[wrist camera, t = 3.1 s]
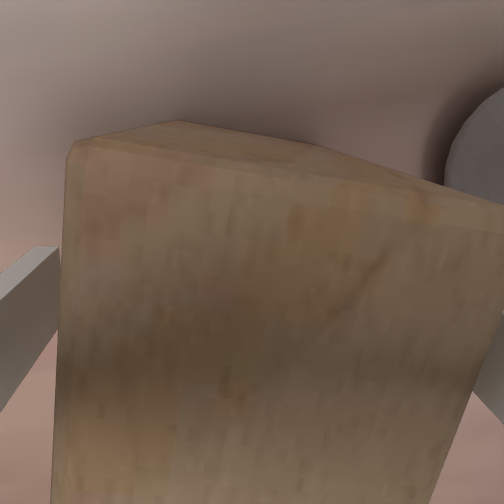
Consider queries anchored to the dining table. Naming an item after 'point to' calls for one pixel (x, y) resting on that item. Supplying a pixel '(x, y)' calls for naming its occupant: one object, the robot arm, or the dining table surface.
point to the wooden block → (263, 322)
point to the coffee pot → (479, 153)
